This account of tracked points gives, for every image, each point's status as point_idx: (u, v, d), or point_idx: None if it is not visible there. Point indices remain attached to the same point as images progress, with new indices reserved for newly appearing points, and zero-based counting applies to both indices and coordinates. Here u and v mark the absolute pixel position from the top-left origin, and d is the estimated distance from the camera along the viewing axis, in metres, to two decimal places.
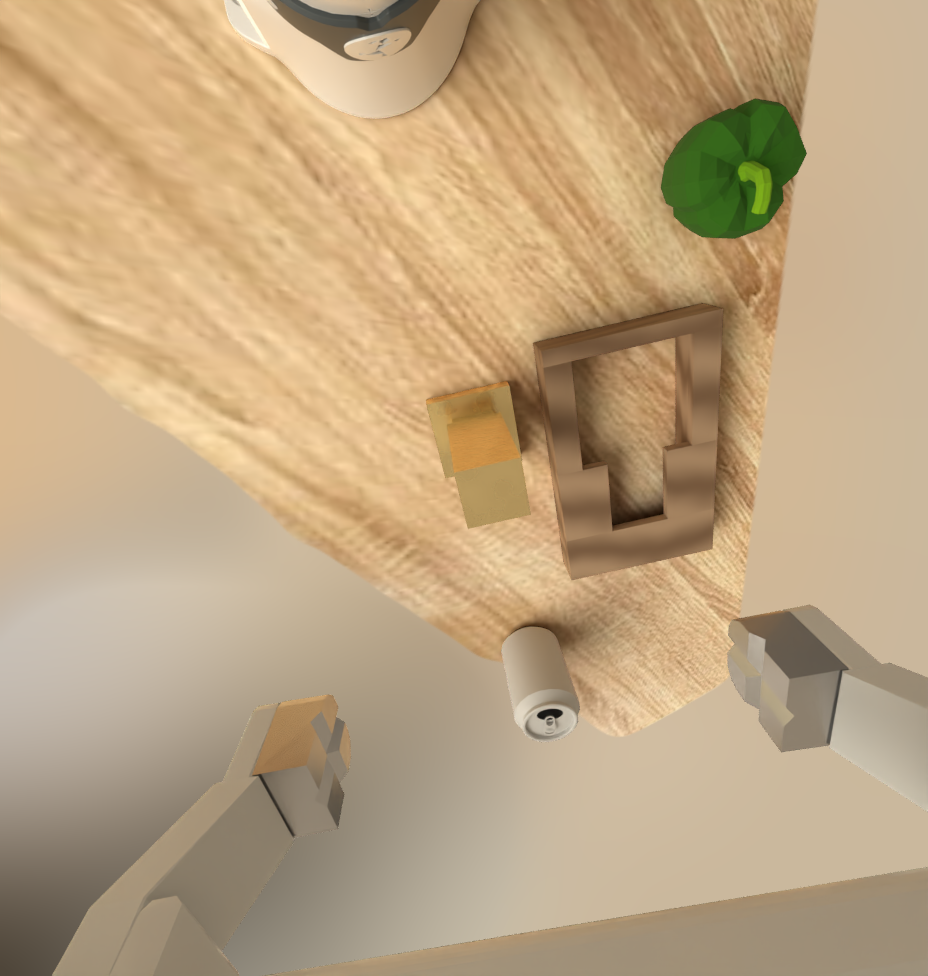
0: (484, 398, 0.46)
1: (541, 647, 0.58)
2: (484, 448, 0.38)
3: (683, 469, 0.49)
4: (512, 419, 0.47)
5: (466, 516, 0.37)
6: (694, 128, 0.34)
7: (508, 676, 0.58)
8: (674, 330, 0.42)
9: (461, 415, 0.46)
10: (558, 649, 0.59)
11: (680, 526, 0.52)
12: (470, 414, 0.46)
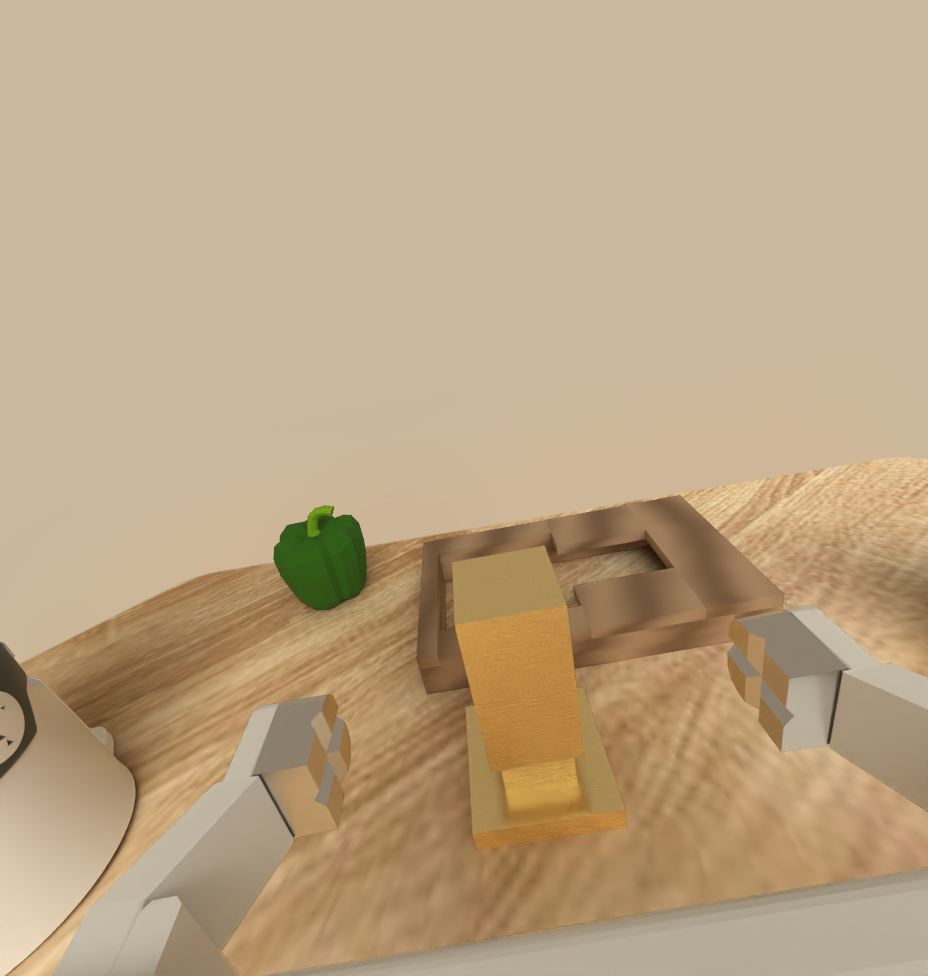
0: (478, 738, 0.30)
1: None
2: None
3: (579, 532, 0.45)
4: None
5: (541, 608, 0.21)
6: (281, 574, 0.46)
7: None
8: (431, 564, 0.45)
9: (500, 773, 0.28)
10: None
11: (654, 520, 0.45)
12: None
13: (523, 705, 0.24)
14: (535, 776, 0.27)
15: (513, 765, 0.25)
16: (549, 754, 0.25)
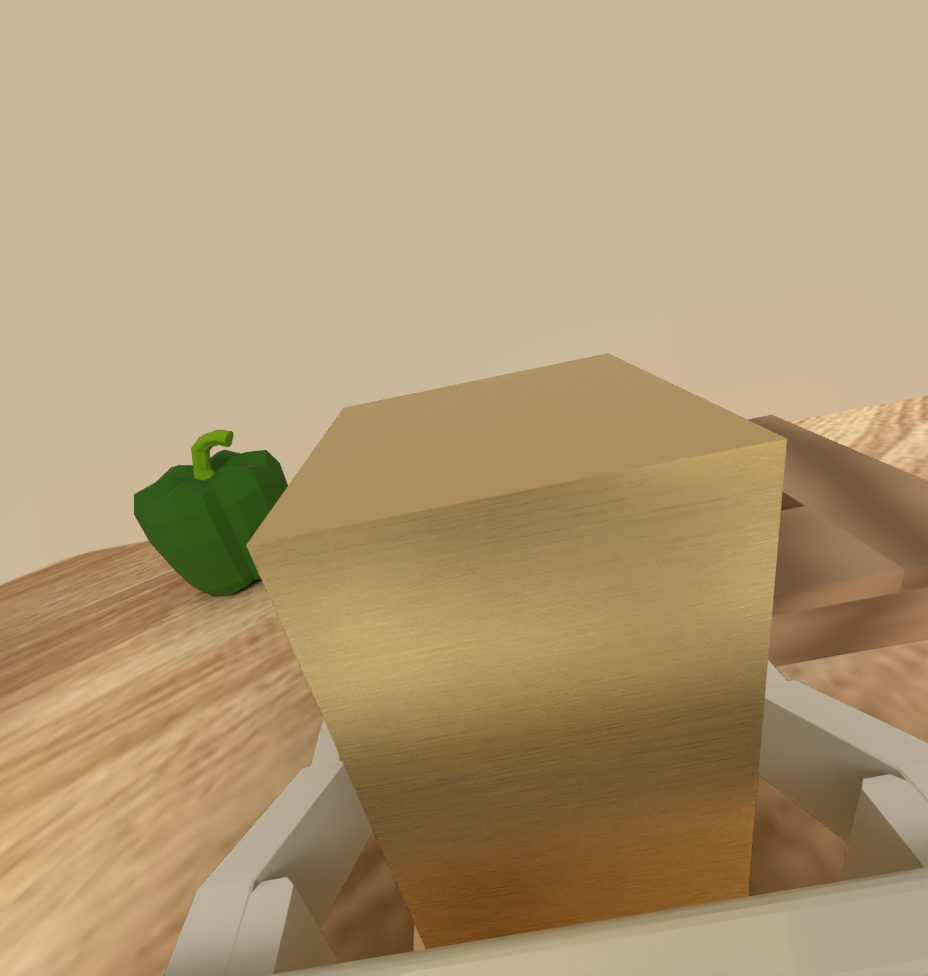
0: None
1: None
2: None
3: None
4: None
5: (657, 458, 0.04)
6: (149, 539, 0.29)
7: None
8: None
9: None
10: None
11: None
12: None
13: (560, 854, 0.07)
14: None
15: None
16: None
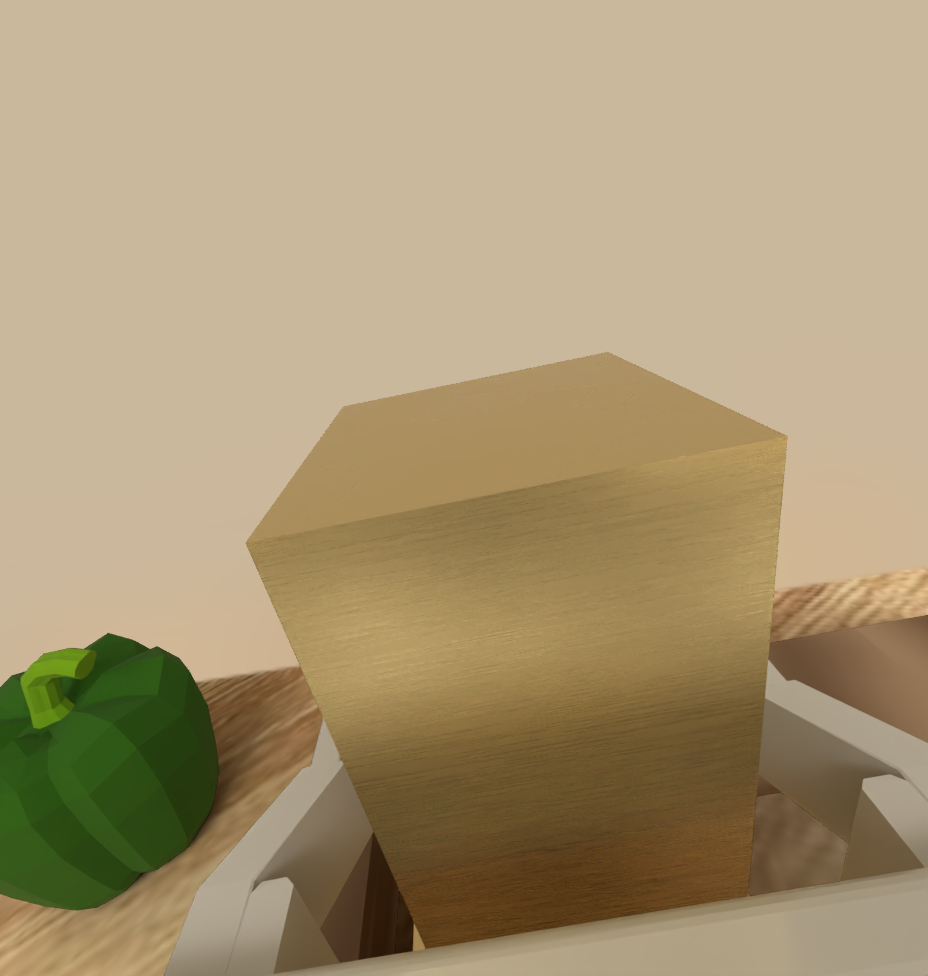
0: None
1: None
2: None
3: None
4: None
5: (657, 456, 0.04)
6: None
7: None
8: None
9: None
10: None
11: None
12: None
13: (560, 853, 0.07)
14: None
15: None
16: None
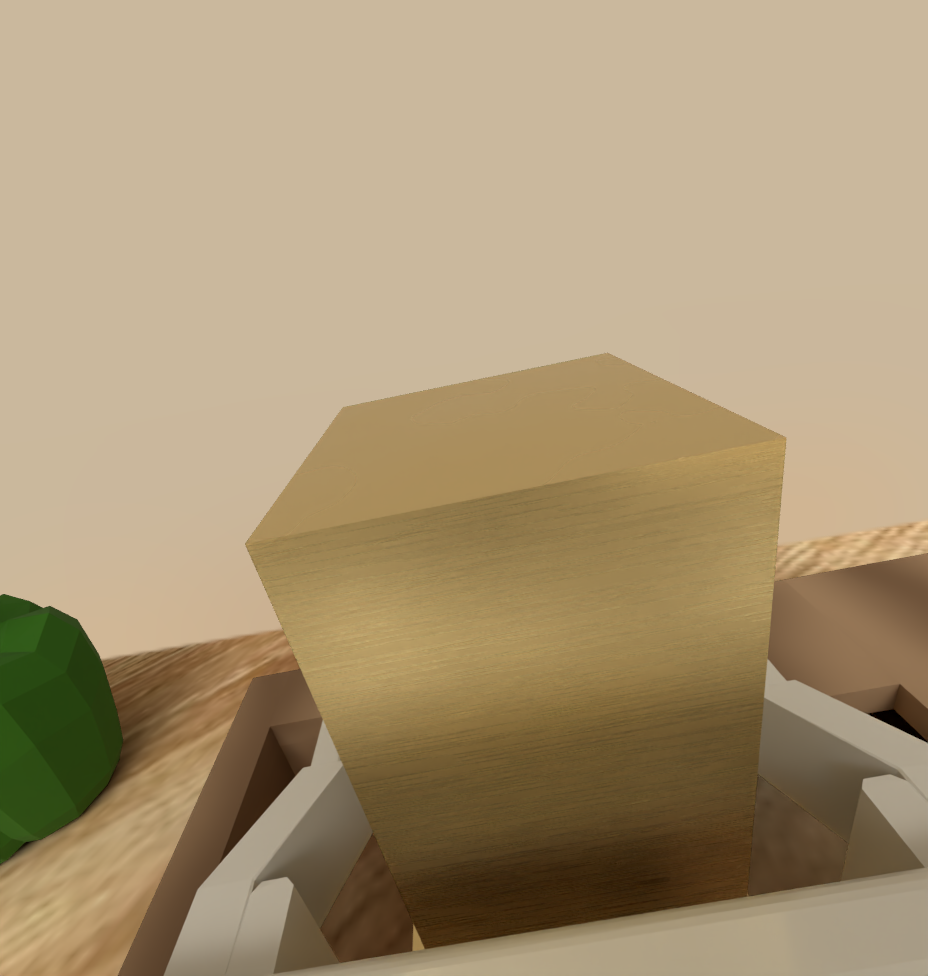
0: None
1: None
2: None
3: None
4: None
5: (656, 457, 0.04)
6: None
7: None
8: (233, 778, 0.15)
9: None
10: None
11: (907, 641, 0.15)
12: None
13: (559, 853, 0.07)
14: None
15: None
16: None
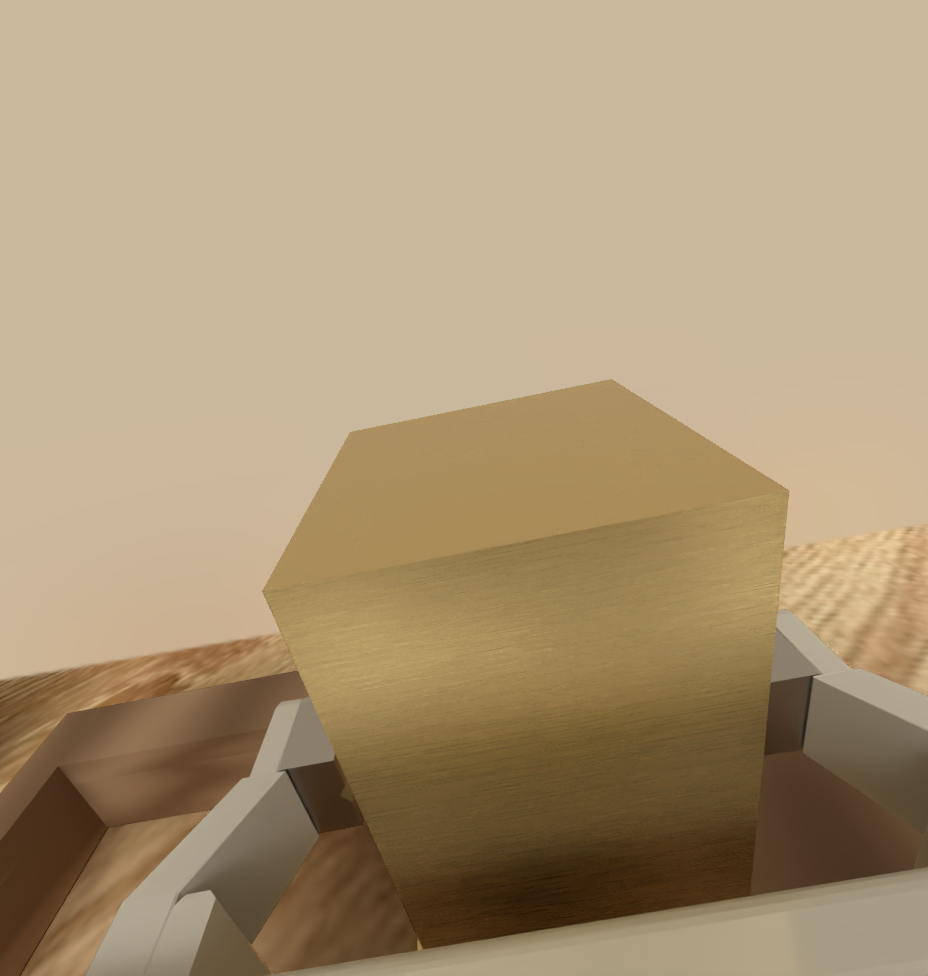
0: None
1: None
2: None
3: None
4: None
5: (662, 508, 0.05)
6: None
7: None
8: None
9: None
10: None
11: None
12: None
13: (564, 879, 0.07)
14: None
15: None
16: None
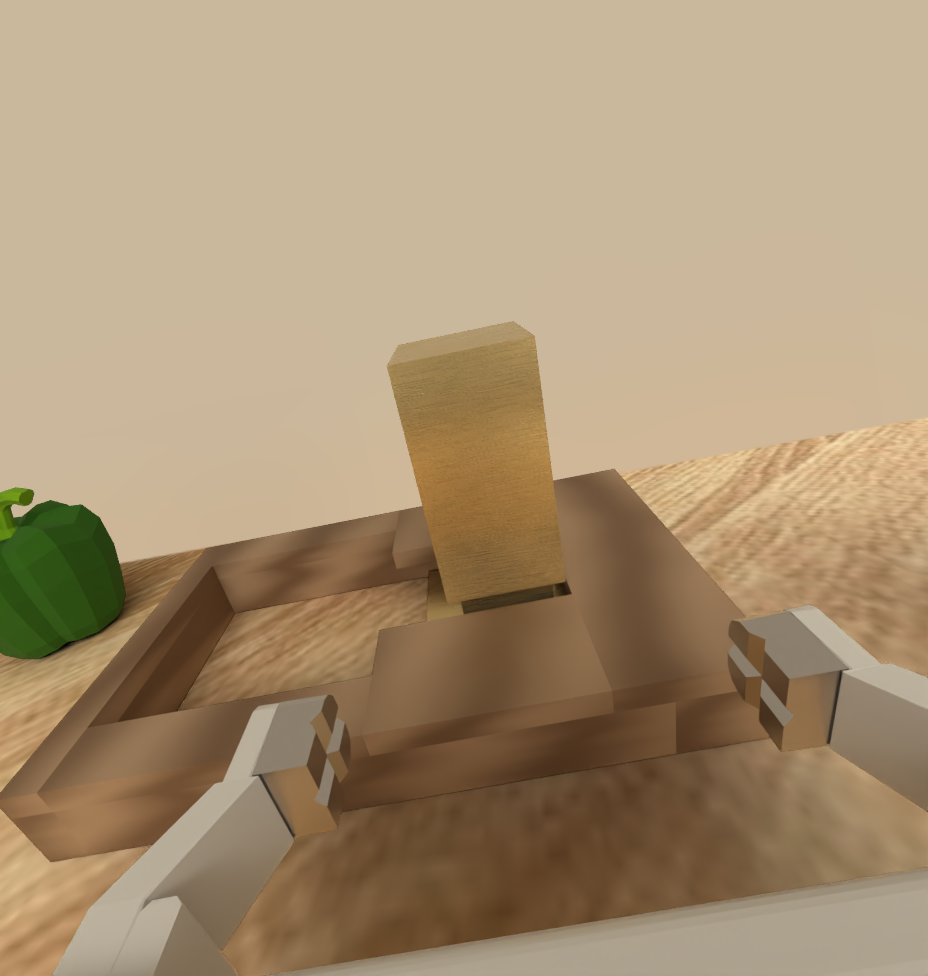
0: (440, 595, 0.25)
1: None
2: None
3: None
4: None
5: (500, 342, 0.16)
6: None
7: None
8: (187, 585, 0.27)
9: None
10: None
11: (563, 507, 0.26)
12: None
13: (484, 499, 0.18)
14: None
15: (475, 594, 0.20)
16: (520, 577, 0.20)
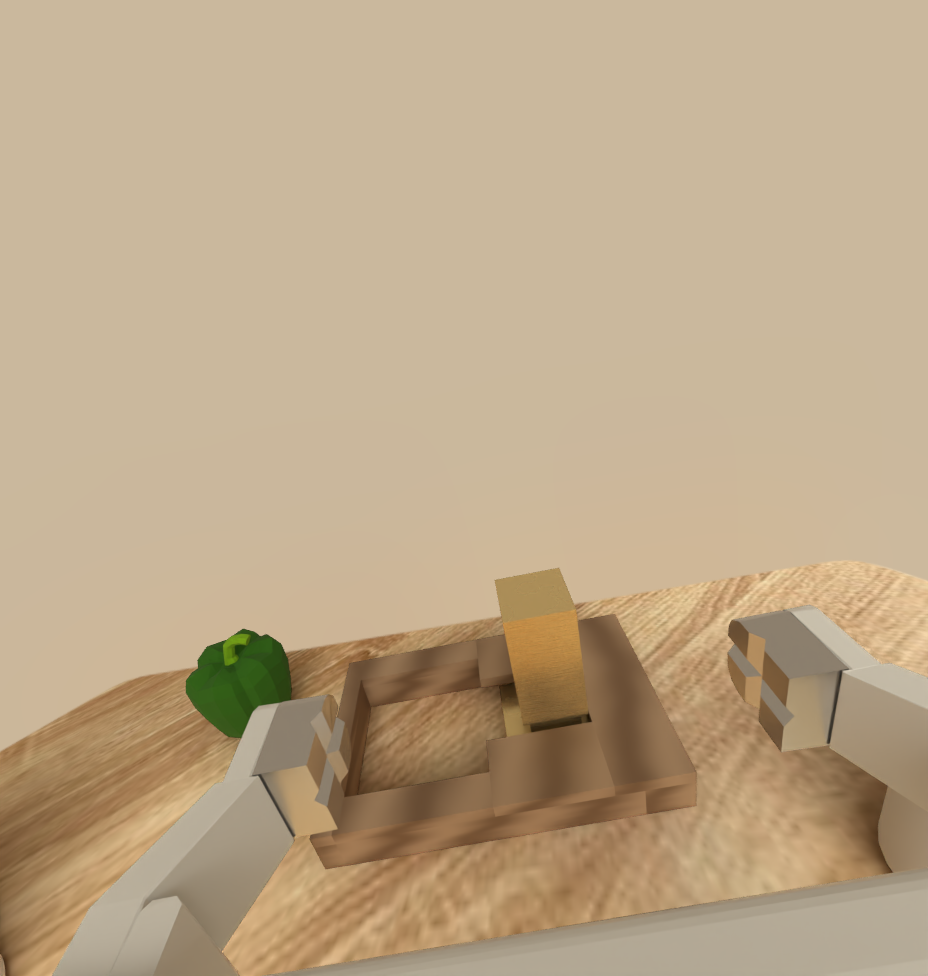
0: (510, 707, 0.41)
1: (894, 819, 0.26)
2: None
3: (505, 660, 0.43)
4: None
5: (559, 611, 0.33)
6: (195, 706, 0.44)
7: None
8: (351, 696, 0.43)
9: (528, 729, 0.39)
10: None
11: (583, 648, 0.43)
12: None
13: (546, 677, 0.35)
14: None
15: (539, 720, 0.37)
16: (564, 712, 0.36)
